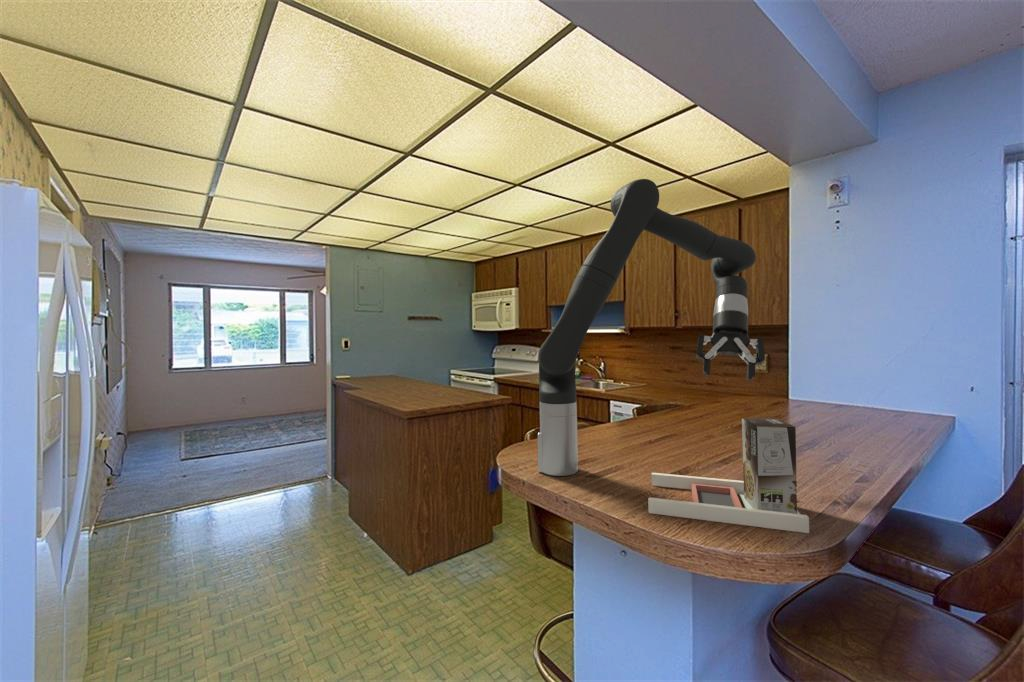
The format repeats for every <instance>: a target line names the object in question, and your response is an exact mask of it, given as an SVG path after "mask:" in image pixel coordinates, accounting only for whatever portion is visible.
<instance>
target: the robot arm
mask: <svg viewBox="0 0 1024 682" xmlns="http://www.w3.org/2000/svg"><path fill="white" fill-rule="evenodd" d="M659 203H660V191H659V188H658V186H657V184H656V183H655V182H654V181H653V180H652V179H651V180H650V179H648V178H639V179H635V180H633V181H631V182H629V183H627V184H625V185H623V186H622V187H620V188H619V189H617V190H616V191H615V192H614V194H613V195H612V197H611V200H610V211H611V213H612V215H613V216H614V219H613V221H612V223H611V225H610V226H609V228H608V230H607V231H606V233H605V234H604V235H603V236H602V238H601V239H600V240H599V241H598V242H597V244H595V246H594V247H593V248H592V250H591V251H590V253H588V255H587V257H586V258H585V260H584V262H583V263H582V265H581V266H580V269H579V270H578V273H577V275H576V277H575V279H574V281H573V283H572V285H571V287H570V290H569V292H568V295H567V299H566V301H565V304H564V307H563V309H562V313H561V315H560V316H559V319H558V320H557V322H556V324H555V326H554V327H553V328H552V330H551V332H550V333H549V335H548V336H547V338H546V339H545V341H544V342H543V343H542V344H541V346H540V347H539V350H538V354H537V357H538V376H539V377H538V378H539V379H538V380H539V381H538V382H539V383H538V385H539V386H538V390H539V392H538V394H539V395H538V397H539V432H538V433H537V470H538V471H537V472H538V473H544V474H545V475H547V476H548V475H549V476H555V477H557V476H558V477H561V476H562V477H563V476H564V477H565V476H572V475H576V474H577V473H578V471H579V460H578V459H579V457H578V455H579V454H578V453H579V452H578V451H579V450H578V416H577V415H578V410H577V409H578V406H577V404H578V403H577V386H576V384H577V383H576V361H577V358H578V355H579V353H580V350H581V348H582V346H583V342H584V340H585V338H586V335H587V333H588V331H589V329H590V327H591V325H592V324H593V322H594V321H595V319H596V318H597V317H598V315H599V313H600V312H601V310H602V308H603V307H604V305H605V304H606V303H607V300H608V299H609V297H610V295H611V293H612V290H613V289H614V287H615V285H616V283H617V281H618V279H619V276H620V274H621V273H622V270H623V269H624V267H625V265H626V262H627V261H628V259H629V256H631V253H632V250H633V248H634V246H635V244H636V242H637V241H638V239H639V237H640V236H641V234H642V232H643V231H646V232H649V233H651V234H653V235H654V236H657V237H660V238H661V239H664V240H666V241H668V242H669V243H672V244H673V245H675V246H677V247H679V248H680V249H682V250H684V251H686V252H687V253H690V254H691V255H693V256H694V257H696V258H698V259H700V260H703V261H709V260H711V263H710V271H711V275H712V278H713V282H714V284H715V290H716V291H715V302H714V308H713V313H712V315H713V316H712V317H713V321H712V323H713V324H712V335H711V336H709V335H705V333H699V335H698V340H697V345H696V346H697V347H696V352H695V358H696V360H701V361H702V362H703V368H702V372H703V375H705V377H707V378H710V375H711V365H712V364H711V362H712V359H714V358H715V357H716V356H717V355H718V354H720V355H721V356H731V357H737V356H739V358H740V359H741V360H743V361H744V362H745V363H746V381H747V382H751V381H752V380H753V379H754V377H755V376H756V366H762V365H763V364H764V362H765V360H766V354H765V343H764V338H763V337H758V338H750V337H749V305H748V282H747V280H746V278H744V277H742V276H739V275H738V274H740V273H742V272H744V271H746V270H748V269H750V268H752V267H753V265H754V264H755V262H756V260H757V256H756V251H755V250H754V249H753V247H752V246H751V245H749V244H748V243H747V242H744V241H742V240H739V239H736V238H731V237H728V236H724V235H719V234H717V233H715V232H714V231H712V230H710V229H709V228H707V227H705V226H704V225H703V224H700V223H698V222H696V221H693V220H691V219H688V218H685V217H681V216H677V215H674V214H671V213H669V212H666V211H664V210H663V209H660V208H659V207H658V206H659ZM708 342H710V344H711V345H712V347H711V348H710V349H709V351H708V352H707V353H704V352H703V348H704V346H706V345H707V343H708ZM749 345H751V346H752V348H753V349H755V353H756V355H755V357H754V356H753V354H752V353H751V352H750V350H749V349H748V346H749Z"/></svg>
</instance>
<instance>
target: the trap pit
mask: <svg viewBox="0 0 1024 682" xmlns="http://www.w3.org/2000/svg"><path fill="white" fill-rule="evenodd" d="M691 496H692V502H695V503H704V504H713V505H722V506H731V507H740V508H743V506H742V505H743V504H742V503H741V500H740V498H739V496H738V494H736V491H735V489H734V487H724V486H713V485H703V484H693V483H691Z"/></svg>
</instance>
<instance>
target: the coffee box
mask: <svg viewBox="0 0 1024 682" xmlns="http://www.w3.org/2000/svg"><path fill="white" fill-rule="evenodd" d="M796 431H797V427H796V426H795V425H792V424H790V423H788V422H785V421H783V420H781V419H778V418H777V417H742V418H741V433H742V434H741V437H742V438H741V439H742V467H743V470H742V471H743V473H742V474H743V481H744V498H745V499H746V500H747V501H748V503H749V504H750V505H751V506H752V507H753V509H757V510H766V511H775V512H784V513H793V514H797V510H798V501H797V500H798V499H797V498H798V497H797V496H798V494H797V493H798V492H797V491H798V488H797V487H798V485H797V439H796V437H797V433H796Z"/></svg>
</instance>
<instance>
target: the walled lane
mask: <svg viewBox="0 0 1024 682" xmlns="http://www.w3.org/2000/svg"><path fill="white" fill-rule="evenodd" d="M691 483H693V484H703V485H713V486H724V487H734V489H735V491H736V494H737V495H739V496H740V494H742V495H744V480H739V479H738V480H735V479H728V478H727V479H726V478H713V477H705V476H704V477H703V476H696V475H695V476H693V475H682V474H681V475H680V474H671V473H661V472H651V486H654V487H664V488H670V489H671V488H672V489H681V490H691ZM647 501H648V502H647V503H648V506H647V507H648V514H652V515H663V516H670V517H675V518H677V517H678V518H685V519H693V520H702V521H708V522H716V523H717V522H718V523H725V524H733V525H740V526H748V527H757V528H758V527H759V528H765V529H772V530H773V529H774V530H778V531H779V530H782V531H789V532H794V533H795V532H797V533H798V532H799V533H805V534H810V517H809V516H808V515H807V514H801V513H800V514H793V513H784V512H775V511H766V510H757V509H748V508H745V507H742V508H740V507H731V506H722V505H713V504H704V503H695V502H693V501H685V500H676V499H667V498H661V497H660V498H658V497H648V499H647Z"/></svg>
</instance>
